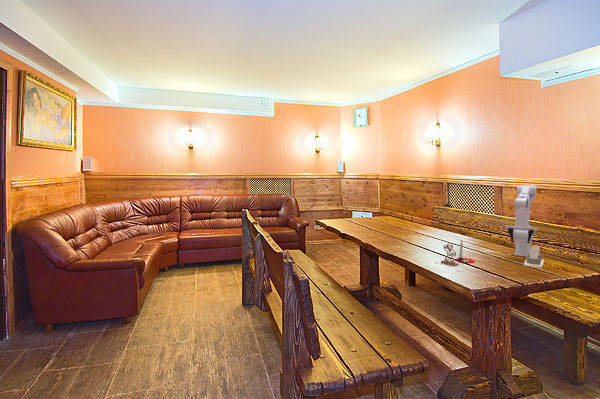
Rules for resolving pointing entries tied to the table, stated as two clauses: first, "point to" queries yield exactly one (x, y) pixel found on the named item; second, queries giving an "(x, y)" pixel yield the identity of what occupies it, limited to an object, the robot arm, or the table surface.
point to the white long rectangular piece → (534, 252)
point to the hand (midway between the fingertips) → (520, 242)
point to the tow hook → (463, 258)
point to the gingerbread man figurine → (449, 255)
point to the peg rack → (534, 262)
